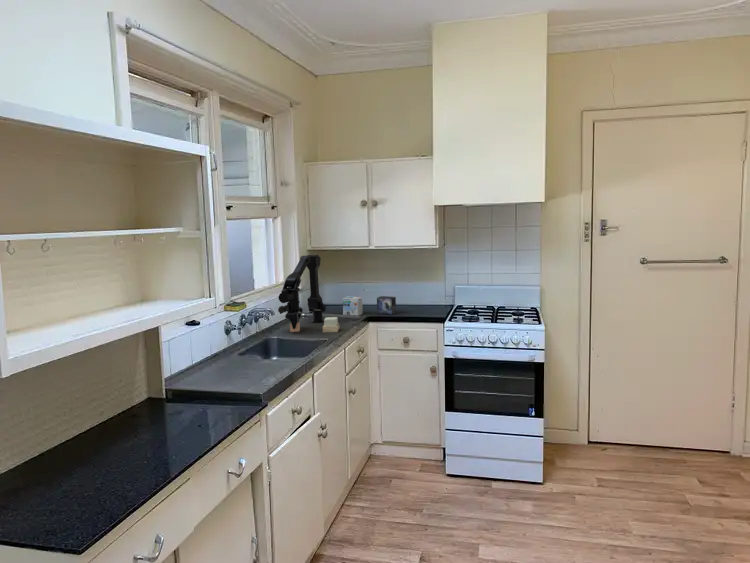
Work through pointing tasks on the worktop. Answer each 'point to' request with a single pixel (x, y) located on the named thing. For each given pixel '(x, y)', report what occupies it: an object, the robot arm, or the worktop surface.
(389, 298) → the small box
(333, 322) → the tower top
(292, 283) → the robot arm
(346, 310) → the light bulb box
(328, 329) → the tower base
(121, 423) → the worktop surface
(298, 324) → the terracotta cube
